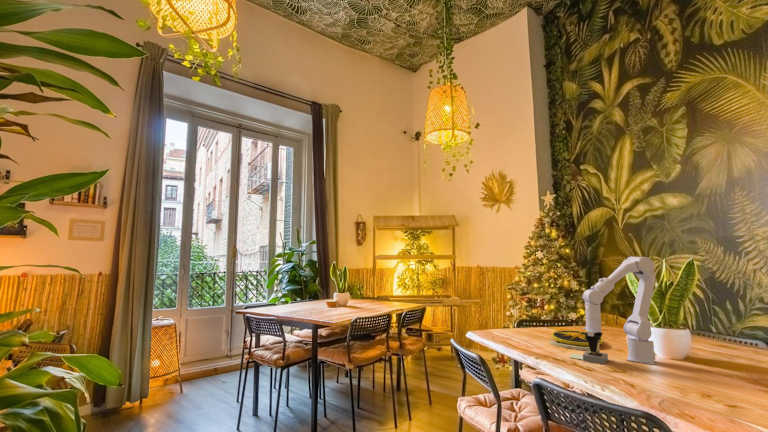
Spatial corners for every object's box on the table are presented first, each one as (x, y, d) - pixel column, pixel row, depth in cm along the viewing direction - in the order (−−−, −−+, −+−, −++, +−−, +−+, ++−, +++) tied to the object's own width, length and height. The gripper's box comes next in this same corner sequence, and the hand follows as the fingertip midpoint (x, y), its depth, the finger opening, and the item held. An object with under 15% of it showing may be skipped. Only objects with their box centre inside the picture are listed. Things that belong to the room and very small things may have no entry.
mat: (585, 356, 170) (585, 355, 170) (582, 360, 164) (582, 359, 164) (572, 354, 173) (572, 353, 173) (569, 358, 167) (569, 357, 167)
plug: (601, 358, 165) (600, 338, 166) (599, 360, 161) (598, 340, 162) (589, 356, 168) (589, 337, 168) (587, 358, 164) (587, 339, 165)
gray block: (607, 359, 165) (607, 353, 166) (604, 364, 158) (604, 358, 158) (587, 356, 170) (586, 350, 170) (583, 361, 163) (582, 354, 163)
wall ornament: (609, 329, 197) (593, 343, 175) (610, 340, 197) (594, 355, 175) (562, 323, 213) (542, 335, 191) (562, 333, 213) (542, 346, 190)
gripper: (585, 314, 174) (587, 345, 173) (579, 319, 163) (580, 352, 161) (603, 316, 170) (604, 348, 169) (598, 321, 158) (599, 355, 157)
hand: (594, 350), depth 165 cm, fingers closed on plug, 4 cm apart
